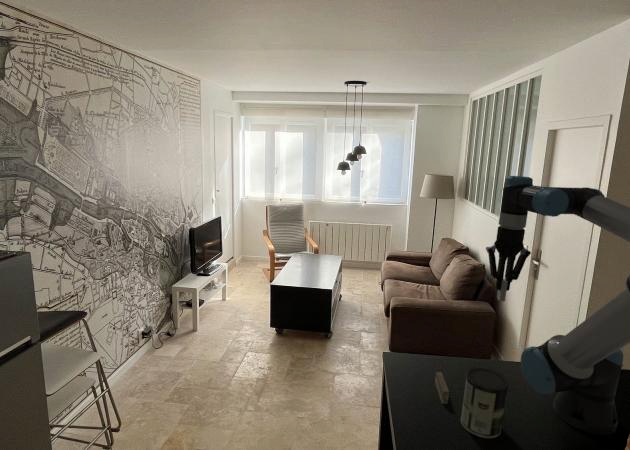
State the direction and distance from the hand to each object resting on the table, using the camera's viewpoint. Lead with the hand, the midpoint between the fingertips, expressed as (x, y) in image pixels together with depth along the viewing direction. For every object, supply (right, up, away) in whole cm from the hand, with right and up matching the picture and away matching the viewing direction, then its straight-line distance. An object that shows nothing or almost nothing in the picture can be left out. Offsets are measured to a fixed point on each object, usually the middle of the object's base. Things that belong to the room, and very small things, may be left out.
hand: (500, 299), depth 128 cm
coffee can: (-14, -31, -19) cm, 39 cm away
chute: (-14, -28, -7) cm, 32 cm away
